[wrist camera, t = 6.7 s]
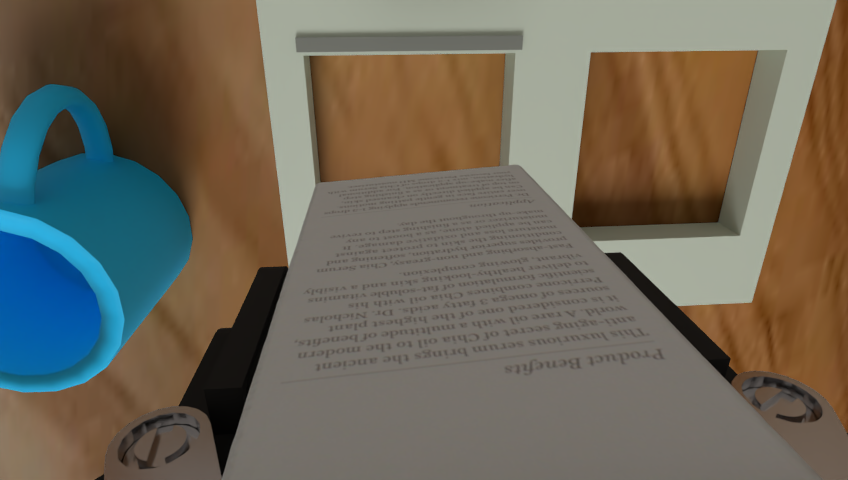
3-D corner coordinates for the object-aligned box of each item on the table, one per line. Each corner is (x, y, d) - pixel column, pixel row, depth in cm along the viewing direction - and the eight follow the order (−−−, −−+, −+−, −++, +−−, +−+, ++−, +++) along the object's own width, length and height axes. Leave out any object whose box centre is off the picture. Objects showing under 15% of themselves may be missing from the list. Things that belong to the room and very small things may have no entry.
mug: (192, 303, 30) (128, 400, 22) (36, 286, 28) (-87, 382, 21) (194, 89, 25) (115, 120, 18) (9, 58, 24) (-160, 77, 16)
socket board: (816, -48, 25) (855, -54, 23) (730, 285, 32) (753, 304, 30) (259, -50, 23) (248, -56, 21) (300, 305, 30) (295, 325, 28)
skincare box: (335, 308, 16) (248, 907, 5) (314, 179, 15) (123, 672, 4) (524, 289, 17) (810, 820, 6) (526, 159, 15) (941, 563, 4)
